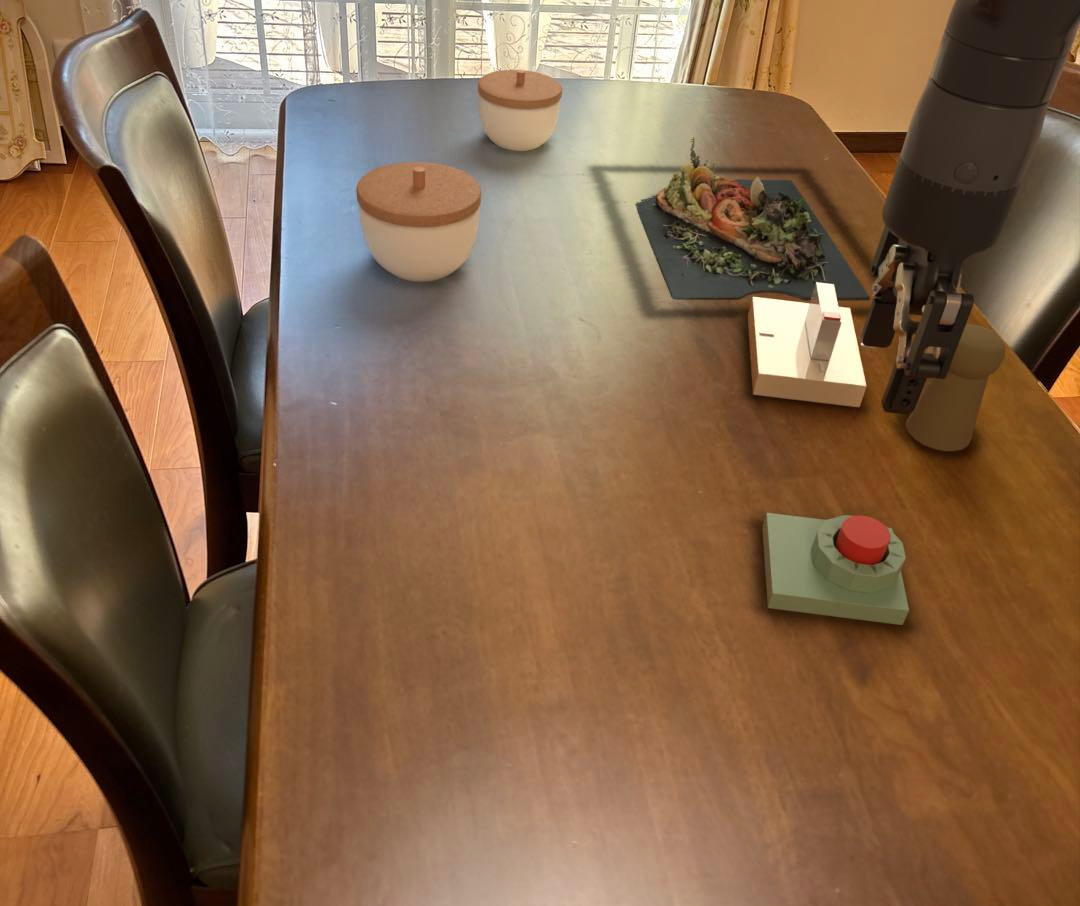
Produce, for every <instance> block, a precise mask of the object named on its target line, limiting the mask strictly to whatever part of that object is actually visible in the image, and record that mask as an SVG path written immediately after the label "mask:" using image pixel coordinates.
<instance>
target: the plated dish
mask: <svg viewBox="0 0 1080 906" xmlns="http://www.w3.org/2000/svg"><path fill="white" fill-rule="evenodd" d="M690 143H691V147H690V149H689V151H690V154H689V156H690V163H691V164H690V163H685V164H684V165H683V166H681V167H680V171H677V172H673V175H672V178H671V180H670V181H669V183H668V185H667V186H666V187H663V188H662V189H661V190H660V191H659V192H658V193H657V194H655V195H651V197H650V196H649V197H647V198H644V199H643V198H642V199H640V201H639V202H638V201H637V202H635V203H634V205H635V208H636V211H637V215H638V217H639V220H640V222H641V225H642V227H643V230H644V232H645V235H646V237H647V240H648V242H649V245H650V247H651V250H652V251H653V254H654V257H655V259H656V261H657V264H658V267H659V269H660V272H661V274H662V277H663V279H664V281H665V283H666V286H667V289H668V291H669V293H670V297H671V298H672V299H673V300H741V299H742V298H744V297H746V296H749V295H752V294H758V293H759V294H760V293H778V294H783V295H787V296H790V297H794V298H796V299H800V300H803V301H805V300H811V297H812V294H813V290H814V287H815V283H816V282H818V283H827V284H834V286H835V291H836V296H837V301H846V300H847V301H848V300H852V301H854V300H855V301H857V300H858V301H859V300H860V301H861V300H862V301H865V300H868V301H869V300H870V299H871V297H870V295H869V293H868V292H867V291H866V289H865V288H864V285H863V284H862V283H861V281H860V280H859V278H858V277H857V275H856V274H855V272H854V270H852V268H851V266H850V265H849V263H848V261H847V260H846V259H845V257H844V256H843V254H842V252H841V251H840V250H839V248H838V247H837V245H836V243H835V242H834V240H833V239H832V237H831V235H829V233H828V231H827V230H826V229H825V227H824V226H823V224H822V223H821V222H820V220H819V218H818V217H817V215H816V213H814V211H813V210H812V208H811V207H810V205H809V204H808V202H807V201H806V199H805V198H804V197H803V195H802V193H801V192H800V190H799V189H798V188H797V186H796V185H795V183H794V182H793V181H792V180H790V179H789V180H788V179H760V177H759V176H757V177H755V178H754V179H733V180H729V179H727V178H726V177H725V176H723V175H722V174H719V175H716V168H717V167H716V166H715V165H716V163H712V166H711V167H712V169H710V168H709V167H707V163H709V160H708V159H706V160H705V161H706V162H705V163H703V165H702V164H701V156H700V155H697V153H696V152H695V150H694V148H695V143H696V141H695V137H693V138H691V139H690ZM700 164H701V165H700Z"/></svg>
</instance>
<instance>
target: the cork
mask: <svg viewBox="0 0 1080 906" xmlns="http://www.w3.org/2000/svg"><path fill="white" fill-rule="evenodd" d="M1005 347H1006V346H1005V342H1004V339H1002V337H1001V336H1000V335H999V334H997V333H996V332H995V331H994V330H992V329H989V328H988V327H985V326H982V325H977V324H972V323H971V324H968V323H966V326H965V328H964V331H963V334H962V336H961V339H960V341H959V344H958V347H957V349H956V352H955V355H954V357H953V360H952V362H951V365H950V368H949V370H948V373H947V376H946V377H945V379H935V378H930V380H929V381H928V383H927V385H926V386H925V388H924V390H923V391H922V392H921V394H920V397H919V400H918V402H917V405H916V407H915V409H914V411H913V412H912V413H910V414H909V416H908V417H907V419H906V421H905V428H906V431H907V432H908V434H909V435H910V436H911V437H912V438H913V439H914V440H915V441H916V442H918V443H920V444H921V445H923V446H925V447H928V448H930V449H933V450H937V451H942V452H956V451H962V450H964V449H965V448H967V447H969V445H970V443H971V442H972V438H973V434H974V430H975V427H976V423H977V420H978V416H979V413H980V410H981V405H982V403H983V398H984V394H985V391H986V387H987V383H988V380H989V377H990V376H991V375H992V374H993V375H994V373H996V372H997V370H998V369H999V368H1000V367H1001V365H1002V363H1003V361H1004V358H1005V354H1006V348H1005ZM940 351H941V348H940Z"/></svg>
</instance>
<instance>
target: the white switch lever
mask: <svg viewBox="0 0 1080 906" xmlns="http://www.w3.org/2000/svg"><path fill="white" fill-rule="evenodd" d="M838 301H839V300H837V296H836V291H835V286H834V284H827V283H818V282H816V283H815V287H814V290H813V294H812V297H811V299H810V301H809V303H810V304H809V308H808V311H807V315H806V319H805V321H806V328H807V335H808V341H809V348H810V354H811V358H812V359H821V360H830V359H831V355H832V352H833V349H834V346H835V342H836V339H837V336H838V333H839V330H840V326H841V323H842V321H841V316H840V311H839V307H840V305H839V302H838Z"/></svg>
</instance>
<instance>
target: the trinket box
mask: <svg viewBox="0 0 1080 906" xmlns="http://www.w3.org/2000/svg"><path fill="white" fill-rule="evenodd" d="M477 92H478V114H479V120H480V123H481V125H482V126H481V127H482V129H483V132H485V134H486V136H487V137H488V138H489V140H490V141H491V142H493V144H495V145H496V146H498V147H500V148H502V149H505V150H508V151H509V150H510V151H516V152H525V151H531V150H535V149H538V148H539V147H541V146H542V145H544V144H545V143H546V142H547V141H548V140H549V139H550V137H551V136H552V134H553V133H554V131H555V129H556V126H557V123H558V119H559V115H560V110H561V109H560V108H561V99H562V96H563V87H562V85H561V83H560V82H559V81H558V80H556V79H555V78H553V77H551V76H549V75H547V74H545V73H541V72H536V71H532V70H525V69H504V70H503V69H502V70H495V71H492V72H489V73H487V74H484V75H483V76H481V77H480V78H479V80H478V82H477Z"/></svg>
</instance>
